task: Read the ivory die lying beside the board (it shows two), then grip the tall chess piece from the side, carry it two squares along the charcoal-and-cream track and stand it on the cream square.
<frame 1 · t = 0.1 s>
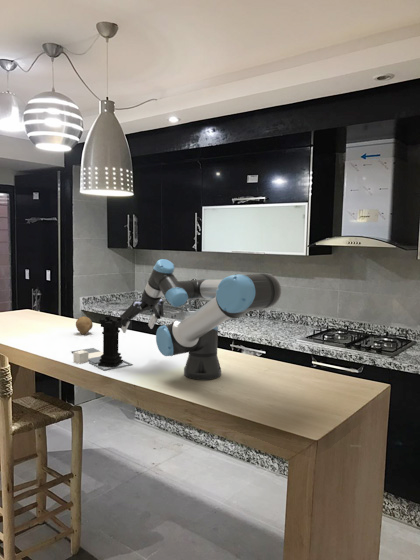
hand: (136, 328, 194), 15 cm above the counter, tool tilted 35°, fingers open, 13 cm apart
track: (93, 356, 206), on the counter
grey flat square frame: (110, 364, 194), on the counter
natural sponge: (84, 334, 250), on the counter
die: (81, 362, 196), on the counter
chess piece: (110, 363, 194), on the counter, touching track
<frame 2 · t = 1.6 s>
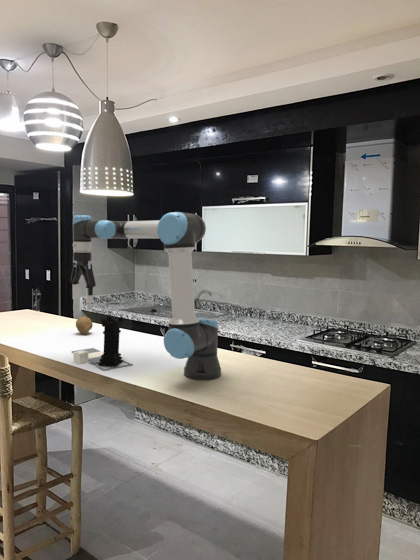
hand: (82, 301, 194), 27 cm above the counter, tool pointing down, fingers open, 13 cm apart
nothing on the counter moved.
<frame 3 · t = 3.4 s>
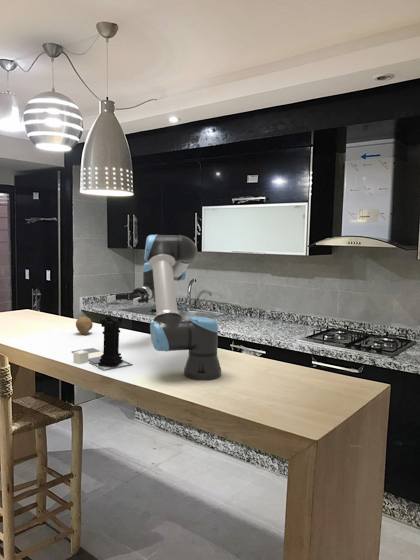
hand: (120, 300, 207), 25 cm above the counter, tool horizontal, fingers open, 13 cm apart
nothing on the counter moved.
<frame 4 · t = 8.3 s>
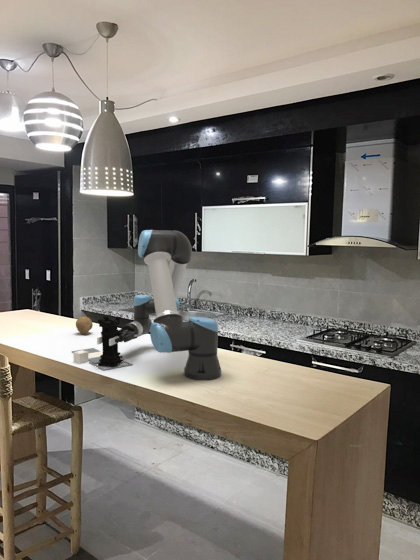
hand: (103, 341, 188), 11 cm above the counter, tool horizontal, fingers closed on chess piece, 5 cm apart
chess piece: (110, 363, 194), on the counter, touching gripper, track
everything else where it was.
when the fingers open (13 cm above the counter, at t = 12.0 s): chess piece drops 1 cm, point 1 cm above the counter.
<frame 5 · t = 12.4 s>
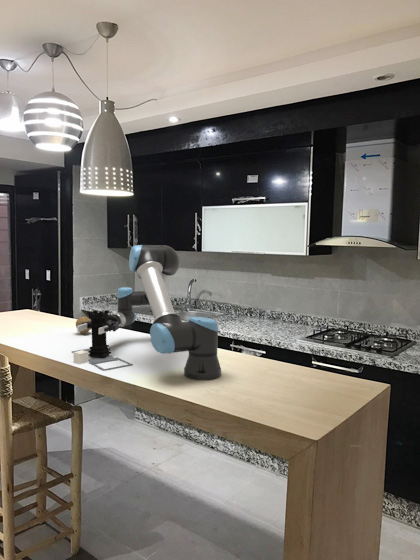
hand: (88, 330, 201), 13 cm above the counter, tool horizontal, fingers open, 10 cm apart
chess piece: (99, 355, 205), point 1 cm above the counter, touching gripper
everything else where it was.
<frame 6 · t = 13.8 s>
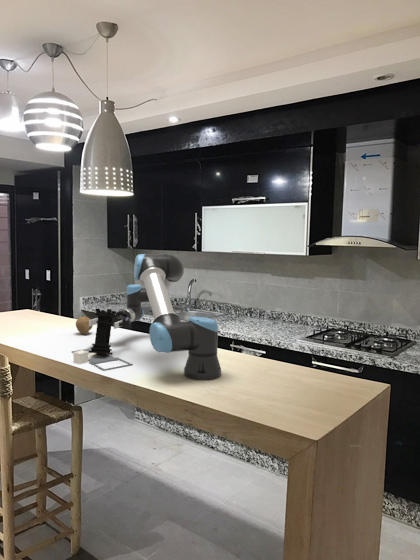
hand: (101, 324, 211), 13 cm above the counter, tool horizontal, fingers open, 13 cm apart
chess piece: (100, 353, 205), point 1 cm above the counter, touching track
everything else where it was.
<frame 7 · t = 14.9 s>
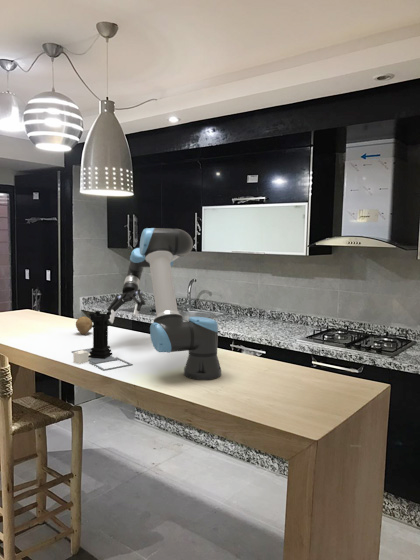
hand: (122, 319, 214), 16 cm above the counter, tool tilted 50°, fingers open, 13 cm apart
chess piece: (100, 356, 204), resting on track
everything else where it was.
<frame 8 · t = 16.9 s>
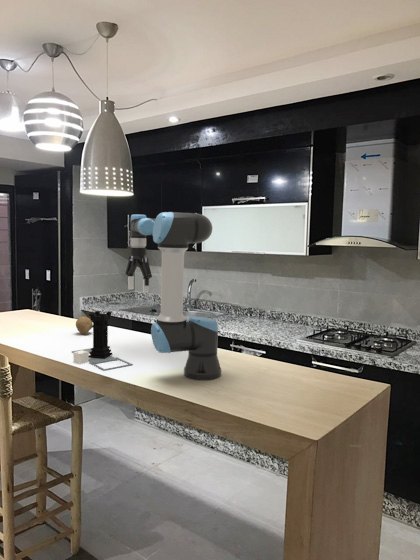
hand: (138, 290, 218), 29 cm above the counter, tool pointing down, fingers open, 13 cm apart
nothing on the counter moved.
at the end: chess piece inside the target area (3.8 cm from its centre), resting on track; chess piece tilted 0°; the gripper is holding nothing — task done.
